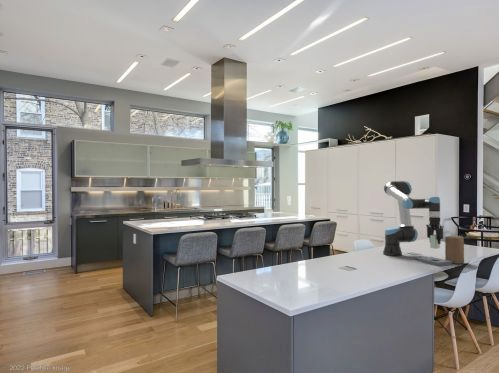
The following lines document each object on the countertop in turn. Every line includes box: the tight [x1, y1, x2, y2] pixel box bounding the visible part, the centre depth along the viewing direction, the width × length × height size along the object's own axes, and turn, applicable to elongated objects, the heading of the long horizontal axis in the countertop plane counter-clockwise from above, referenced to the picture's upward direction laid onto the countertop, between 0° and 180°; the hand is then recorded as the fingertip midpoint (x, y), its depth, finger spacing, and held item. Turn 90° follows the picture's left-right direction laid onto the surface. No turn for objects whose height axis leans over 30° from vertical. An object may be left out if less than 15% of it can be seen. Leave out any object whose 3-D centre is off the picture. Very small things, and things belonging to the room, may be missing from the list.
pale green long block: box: [429, 233, 438, 249], centre depth 259 cm, size 4×4×10 cm
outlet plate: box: [417, 256, 453, 267], centre depth 262 cm, size 18×14×2 cm
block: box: [444, 235, 465, 265], centre depth 263 cm, size 10×10×20 cm
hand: (435, 247), depth 259 cm, fingers closed on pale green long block, 4 cm apart
